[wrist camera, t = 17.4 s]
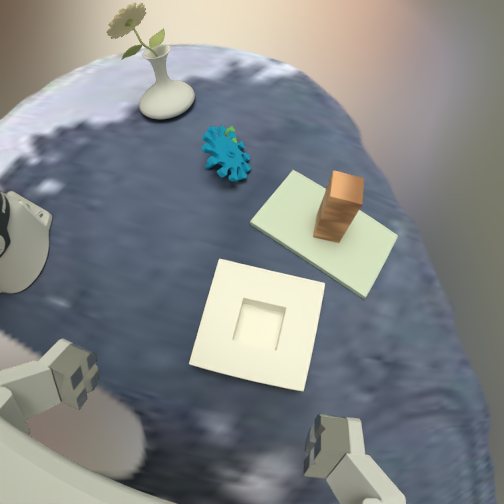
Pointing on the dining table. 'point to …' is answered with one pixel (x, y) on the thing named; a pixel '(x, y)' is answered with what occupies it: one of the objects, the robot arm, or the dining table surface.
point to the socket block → (259, 325)
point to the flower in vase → (164, 90)
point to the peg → (338, 206)
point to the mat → (318, 250)
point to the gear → (226, 152)
